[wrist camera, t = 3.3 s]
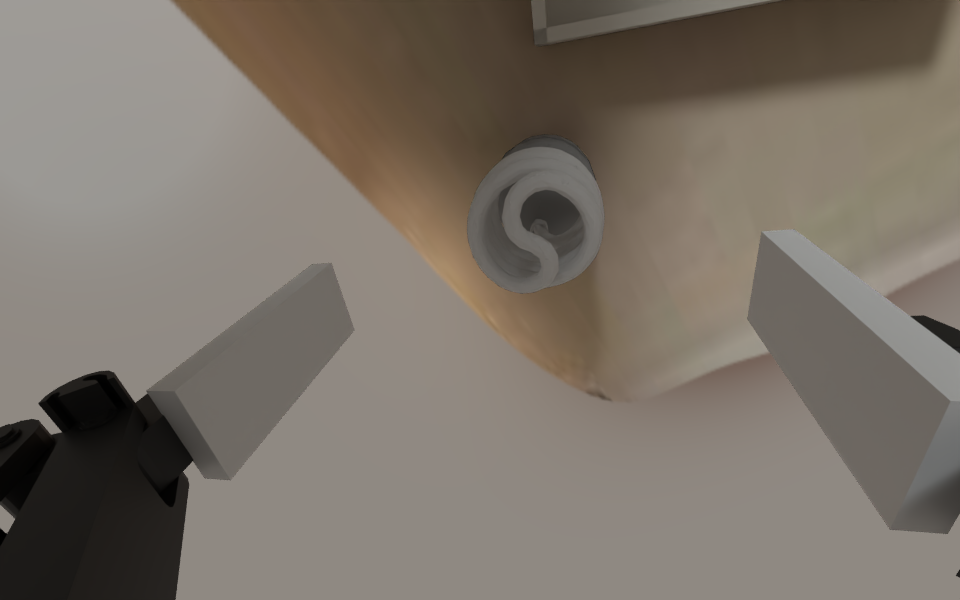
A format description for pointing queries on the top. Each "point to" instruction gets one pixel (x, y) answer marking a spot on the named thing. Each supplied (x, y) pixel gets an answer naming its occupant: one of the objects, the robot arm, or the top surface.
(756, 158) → the top surface
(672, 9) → the carton
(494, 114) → the top surface
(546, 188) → the light bulb
